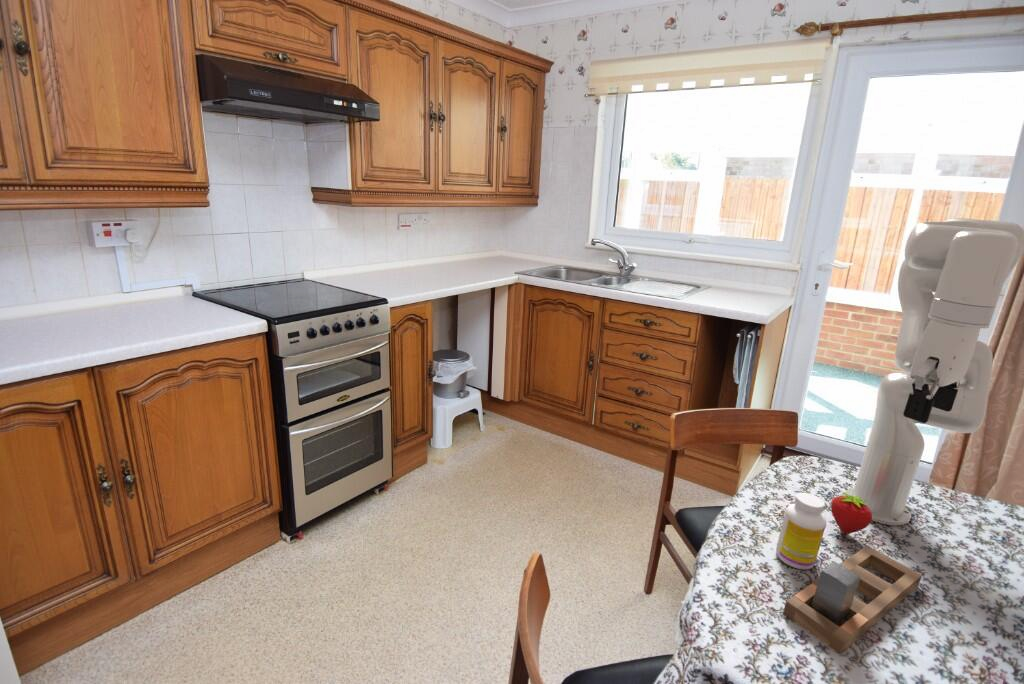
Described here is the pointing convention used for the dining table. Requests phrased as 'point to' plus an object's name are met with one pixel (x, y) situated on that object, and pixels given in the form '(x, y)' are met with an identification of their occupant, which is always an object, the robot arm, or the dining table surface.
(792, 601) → the rack
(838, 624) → the peg
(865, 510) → the strawberry
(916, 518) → the dining table surface
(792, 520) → the supplement bottle
